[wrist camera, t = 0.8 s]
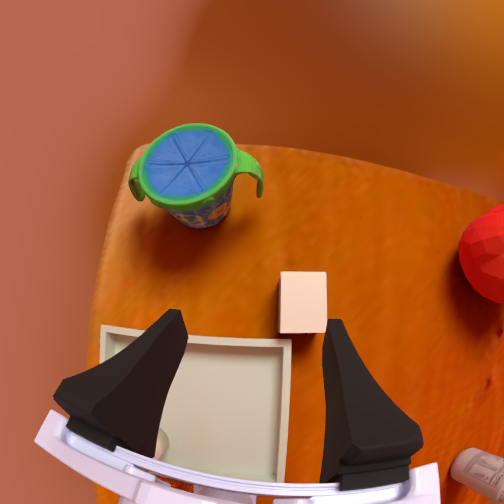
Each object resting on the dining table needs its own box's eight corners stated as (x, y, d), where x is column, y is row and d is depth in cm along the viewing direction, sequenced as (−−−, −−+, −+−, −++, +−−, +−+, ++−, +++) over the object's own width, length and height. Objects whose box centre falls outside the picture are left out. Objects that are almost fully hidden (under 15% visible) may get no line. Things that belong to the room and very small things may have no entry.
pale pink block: (316, 332, 30) (326, 332, 25) (277, 333, 30) (280, 333, 25) (316, 281, 32) (325, 272, 27) (278, 281, 32) (281, 271, 27)
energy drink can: (445, 483, 20) (497, 513, 6) (449, 456, 22) (509, 484, 8) (471, 466, 20) (524, 488, 6) (475, 440, 22) (535, 457, 8)
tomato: (496, 234, 32) (545, 202, 19) (500, 311, 28) (559, 295, 15) (435, 214, 34) (488, 168, 21) (438, 305, 30) (508, 284, 17)
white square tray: (281, 476, 24) (283, 488, 21) (116, 453, 25) (106, 460, 22) (288, 338, 30) (291, 339, 27) (113, 326, 31) (101, 324, 28)
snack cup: (266, 175, 36) (268, 124, 26) (258, 248, 33) (257, 211, 23) (160, 170, 37) (136, 124, 27) (141, 236, 34) (104, 202, 24)
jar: (171, 458, 25) (152, 480, 18) (137, 450, 25) (113, 469, 18) (169, 427, 26) (148, 445, 20) (134, 419, 26) (108, 434, 20)
